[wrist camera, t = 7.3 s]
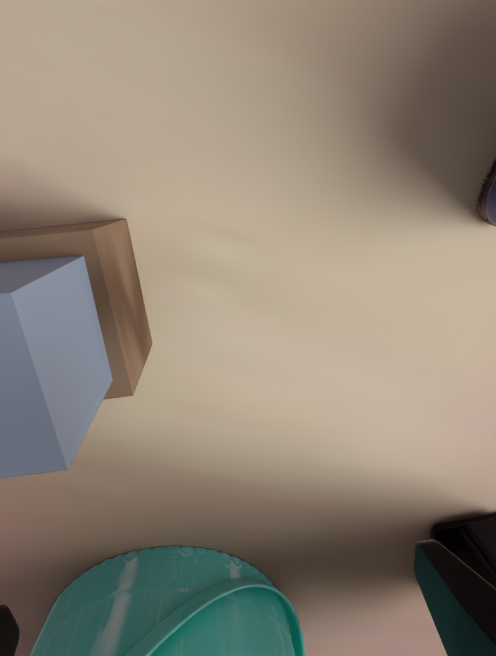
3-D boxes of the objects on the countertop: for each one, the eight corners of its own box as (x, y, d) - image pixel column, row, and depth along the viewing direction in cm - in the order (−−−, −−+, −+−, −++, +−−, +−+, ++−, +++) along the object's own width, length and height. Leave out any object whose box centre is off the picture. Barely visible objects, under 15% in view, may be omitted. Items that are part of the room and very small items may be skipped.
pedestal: (152, 342, 18) (132, 395, 13) (30, 357, 18) (-35, 417, 13) (127, 218, 16) (92, 229, 11) (-14, 233, 15) (-111, 250, 11)
